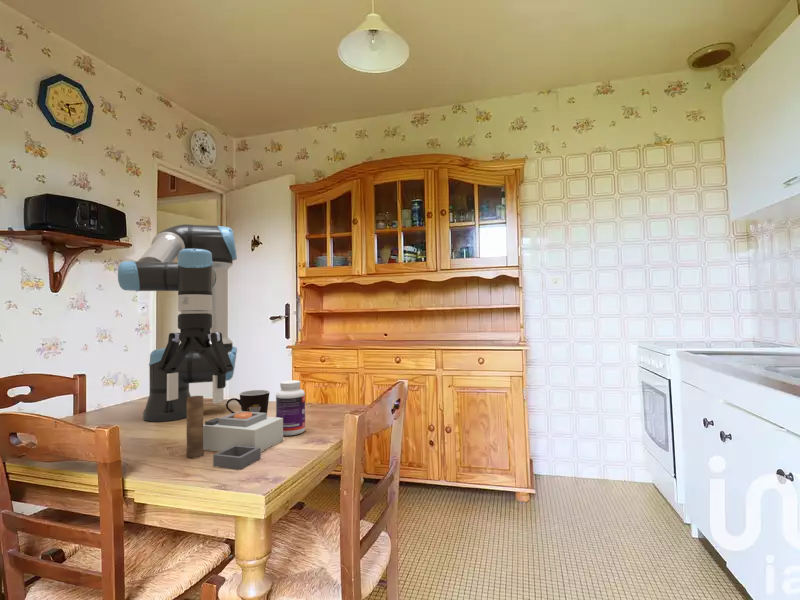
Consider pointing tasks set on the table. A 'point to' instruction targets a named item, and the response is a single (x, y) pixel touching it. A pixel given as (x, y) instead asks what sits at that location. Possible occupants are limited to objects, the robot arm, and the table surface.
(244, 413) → the plunger
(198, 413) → the dowel
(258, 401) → the coffee mug
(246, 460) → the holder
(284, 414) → the pill bottle
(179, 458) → the table surface
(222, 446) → the white pedestal box
